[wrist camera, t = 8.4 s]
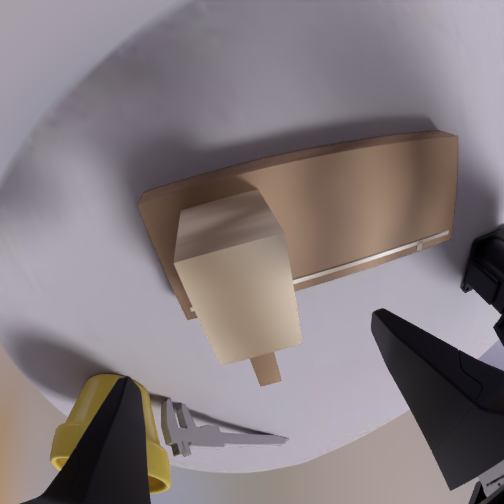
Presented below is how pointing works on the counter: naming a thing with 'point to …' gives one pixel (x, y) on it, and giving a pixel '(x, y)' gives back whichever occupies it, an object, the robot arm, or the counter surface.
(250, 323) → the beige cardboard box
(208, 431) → the caliper
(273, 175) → the walnut board
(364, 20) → the counter surface
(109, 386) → the plant pot
